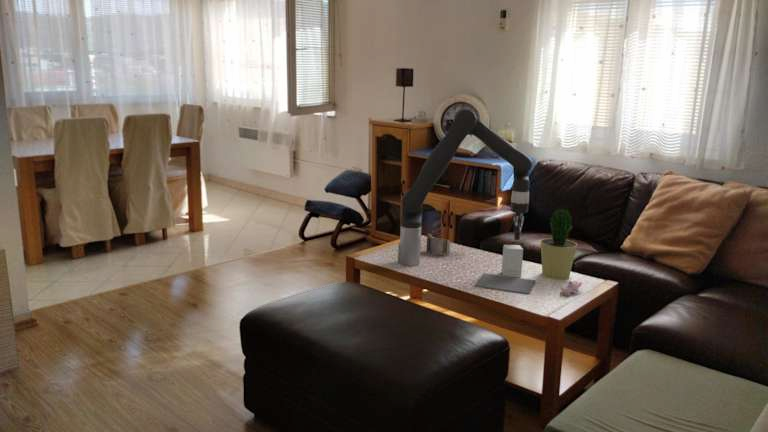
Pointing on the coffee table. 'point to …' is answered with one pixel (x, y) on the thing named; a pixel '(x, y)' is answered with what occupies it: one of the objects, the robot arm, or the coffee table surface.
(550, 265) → the potted cactus
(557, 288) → the coffee table surface
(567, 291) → the pink unicorn figurine
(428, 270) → the coffee table surface
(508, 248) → the supplement box
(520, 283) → the mat
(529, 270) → the coffee table surface
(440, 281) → the coffee table surface
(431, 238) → the grey upright block
